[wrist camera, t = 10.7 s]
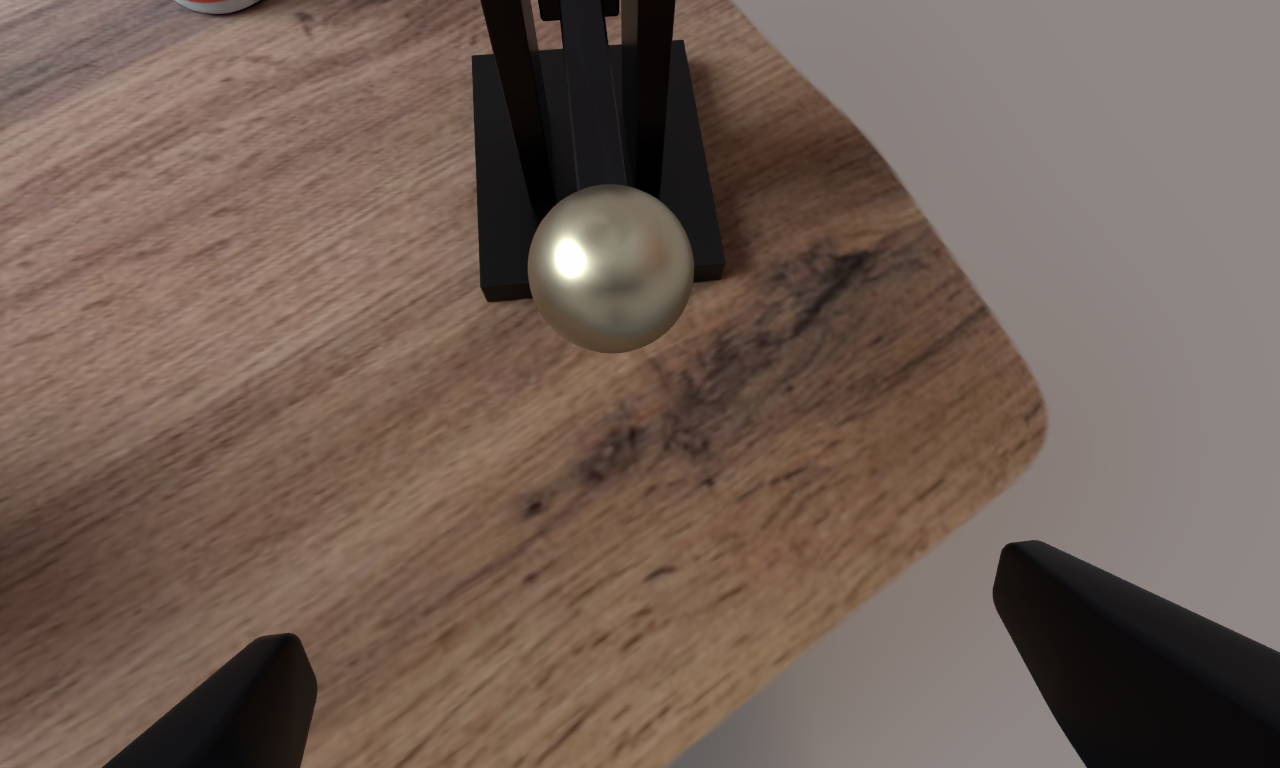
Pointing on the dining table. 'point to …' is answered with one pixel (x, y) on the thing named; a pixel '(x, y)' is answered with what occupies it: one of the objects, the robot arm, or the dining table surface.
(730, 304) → the dining table surface
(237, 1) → the pill bottle
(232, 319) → the dining table surface
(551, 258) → the lever
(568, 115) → the bracket
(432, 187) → the dining table surface
